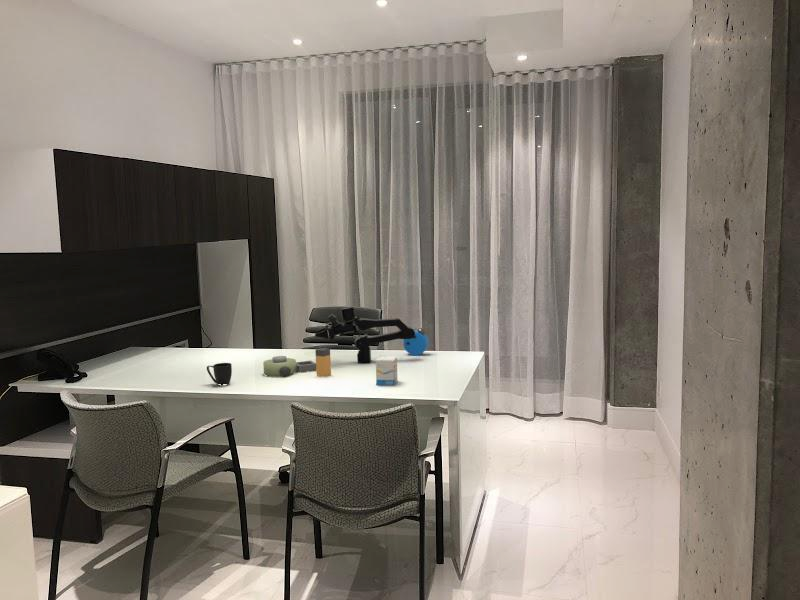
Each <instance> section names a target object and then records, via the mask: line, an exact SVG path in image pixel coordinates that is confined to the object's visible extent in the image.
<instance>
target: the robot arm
mask: <svg viewBox="0 0 800 600" xmlns="http://www.w3.org/2000/svg"><path fill="white" fill-rule="evenodd" d="M340 313H341V319H342V320H344V321H345V322H341V321H340V322H339V321H338V317H337V316H335V315H334V313H332V314H330V315H328V316H327V319H328V321H330V322H328V323H327V324H326V325H325V326H324V327H323V328H320V329H318V330H316V331H315V334H314V336H315V337H316V338H322V339H327V340H334V339H335V337H336V336H339V335H345V334H347V333H353V332H354V333H353V334H354V335H355V336H357V334H358V333H359V330H360V331H367V330H370V329H373V328H383V327H385V328H386V327H396V328H397V329H399V330H397V331H392V332H386V333H382V334H378V335H372V336H368V333H366V334H363V335H362V334H359V336H357V337H356V338H355V340H354V346H355V347H356V348H357V349H358V351H357V354H356V357H357V358H356V359H357V360H356V361H357V364H370V363H371V362H372V353H371V346H372V345H377V344H380V343H385V342H390V341H395V340H404V339H412V338H413V337H414V336H415V331H416V330H415V329H414V328H413V327H411V326H407V324H405V323H404V322H403V321H402V320H401V319H400V318H398V317H396V318H383V319H382V318H380V319H371V318H364V317H357V316H356V315H355V308H354V306H350V307H349V306H347V307H342V308H340ZM358 329H359V330H358ZM413 329H414V330H413Z"/></svg>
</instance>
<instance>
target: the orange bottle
mask: <svg viewBox="0 0 800 600" xmlns="http://www.w3.org/2000/svg"><path fill="white" fill-rule="evenodd" d="M315 363H316V371H315V373H316V376H317V377H321V376H326V377H328V376H327V375H329V376H331V375H332V366H331V365H332V364H331V363H332V362H331V348H325V347H320V348H316V349H315Z"/></svg>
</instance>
